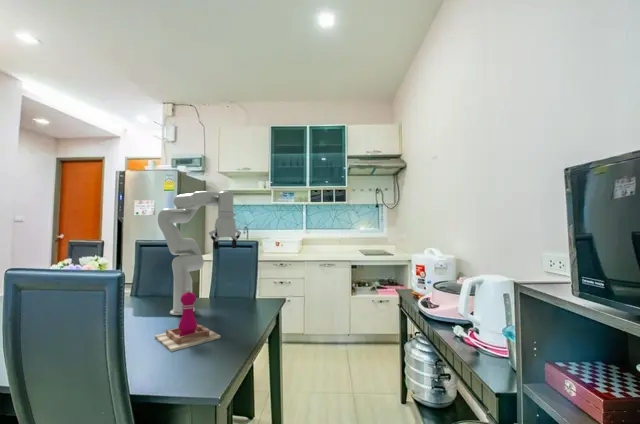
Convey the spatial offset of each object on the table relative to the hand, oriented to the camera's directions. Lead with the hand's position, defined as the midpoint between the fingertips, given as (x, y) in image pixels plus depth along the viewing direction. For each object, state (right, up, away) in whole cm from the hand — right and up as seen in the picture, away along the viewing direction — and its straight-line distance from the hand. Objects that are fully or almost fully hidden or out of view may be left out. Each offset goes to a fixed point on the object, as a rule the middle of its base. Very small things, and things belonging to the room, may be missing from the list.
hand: (225, 248), depth 156 cm
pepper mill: (-8, -34, -27) cm, 44 cm away
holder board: (-8, -35, -26) cm, 45 cm away
